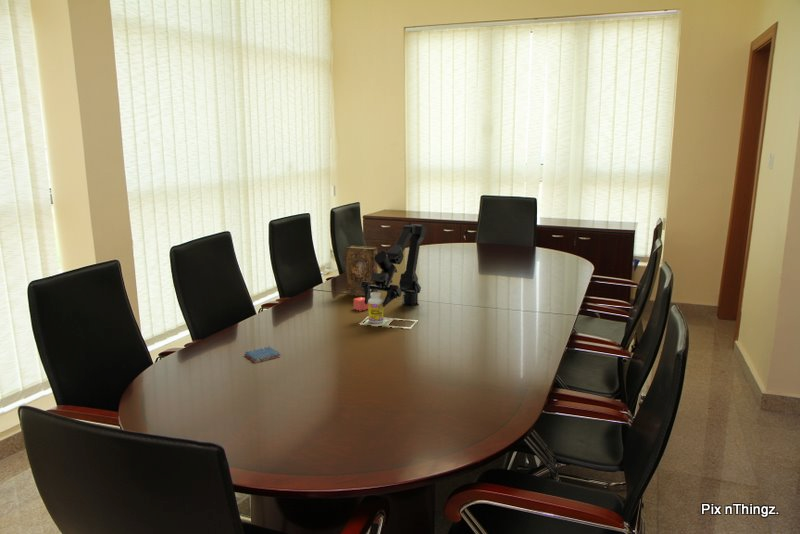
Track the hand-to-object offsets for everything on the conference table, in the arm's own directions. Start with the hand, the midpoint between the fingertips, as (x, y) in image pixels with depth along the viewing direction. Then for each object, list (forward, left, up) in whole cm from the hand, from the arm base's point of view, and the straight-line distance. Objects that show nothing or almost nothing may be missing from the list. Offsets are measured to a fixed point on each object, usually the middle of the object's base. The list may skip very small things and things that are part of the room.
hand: (374, 305), depth 265 cm
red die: (-1, -23, -8) cm, 24 cm away
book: (-9, -48, -8) cm, 49 cm away
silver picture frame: (-6, +3, -8) cm, 10 cm away
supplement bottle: (-1, -1, -8) cm, 8 cm away
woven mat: (+51, +25, -9) cm, 58 cm away
